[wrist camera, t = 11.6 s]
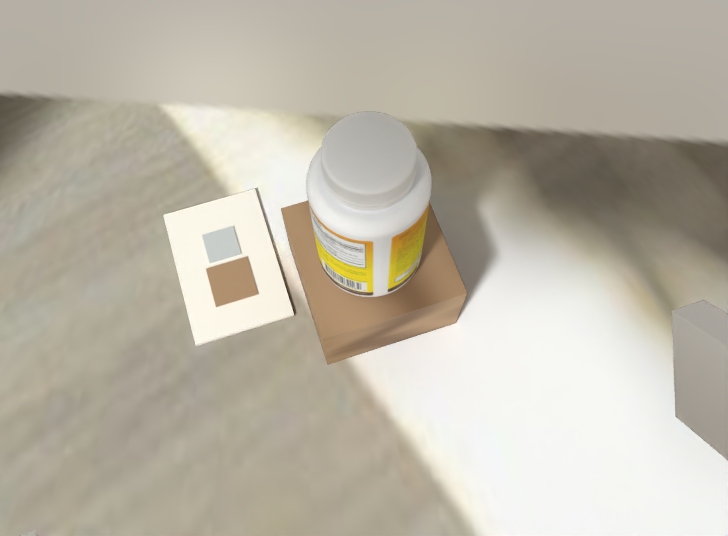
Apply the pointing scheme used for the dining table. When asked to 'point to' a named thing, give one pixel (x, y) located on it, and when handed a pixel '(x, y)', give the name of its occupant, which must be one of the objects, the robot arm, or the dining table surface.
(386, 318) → the base block
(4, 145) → the dining table surface
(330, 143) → the supplement bottle
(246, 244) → the page
